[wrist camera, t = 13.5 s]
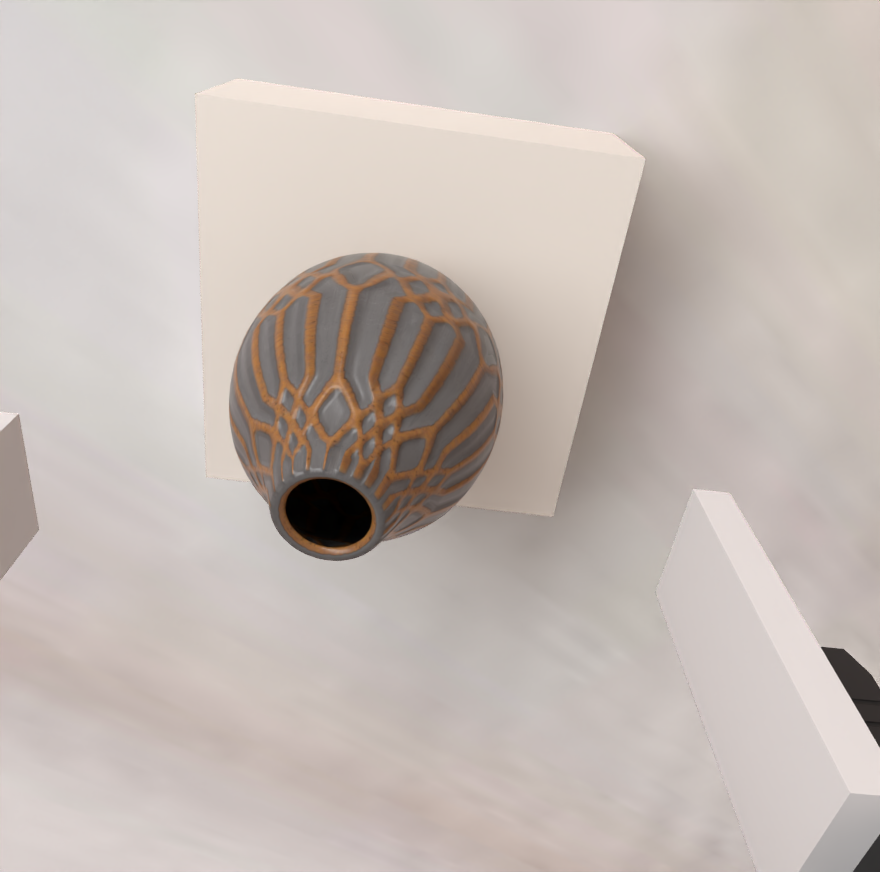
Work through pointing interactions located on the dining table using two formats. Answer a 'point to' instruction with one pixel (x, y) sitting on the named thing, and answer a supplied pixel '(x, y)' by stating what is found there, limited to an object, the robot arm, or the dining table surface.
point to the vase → (364, 402)
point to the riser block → (418, 244)
